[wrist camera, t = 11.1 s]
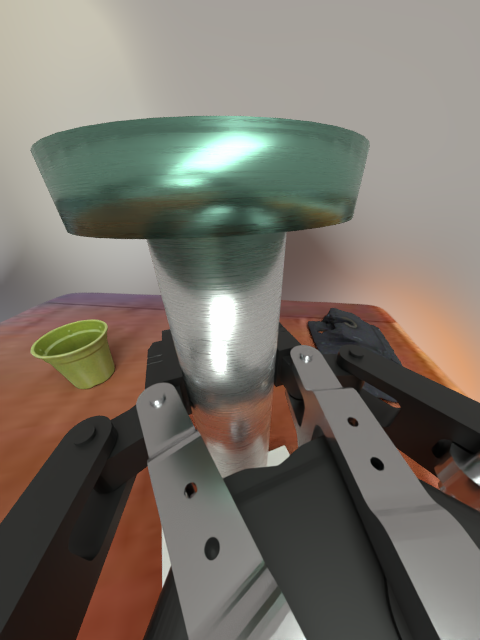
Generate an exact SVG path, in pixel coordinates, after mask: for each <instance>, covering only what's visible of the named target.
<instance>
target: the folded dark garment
mask: <svg viewBox="0 0 480 640" xmlns="http://www.w3.org/2000/svg"><path fill="white" fill-rule="evenodd" d="M308 326H309V328H310V331H311V334H312V337H313V339H314V342H315V343H316V346H317V347H318V349H319V352H320V353H321V354H338V352H339V349H340V347H341V346H343V345H349V344H350V345H357V346H360V347H363V348H365V349H367V350H369V351H371V352H373V353H375V354H377V355H380V356H382V357H384V358H386V359H388V360H390V361H392V362H394V363H396V364H399V365H401V366H402V364H401V362H400V361H399V359H398V358H397V356H396V355H395V354H394V350H393V349H392V348H391V346H390V345H389V343H388V341H387V340H386V339H385V337H384V335H383V334H382V333H381V331H380V329H379V328H377V327H375V326H374V325H370V324H368V323H366V322H364V321H362V320H361V319H360V318H359V317H357V316H356V315H354V314H352V313H349V312H345V311H341V310H338V309H336V308H331V309H330V311H329V313H328V314H327V316H325V317H324V319H323V321H322V322H320V321H317V322H315V321H309V322H308ZM319 331H325V332H323V333H319ZM363 389H364V390H366V391H367V392H369V393H371V394H372V395H374V396H376V397H377V398H383V399H385V400H387V401H391V402H397V401H396V400H395V399H394V398H392V397H390V396H389V395H387V394H385V393H384V392H382V391H380V390H378V389H377V388H375V387H373V386H372V385H370V384H368V383H366V382H365V383H364V385H363Z"/></svg>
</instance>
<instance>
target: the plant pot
mask: <svg viewBox="0 0 480 640" xmlns="http://www.w3.org/2000/svg"><path fill="white" fill-rule="evenodd" d="M107 330H108V327H107V324H106V323H105V322H103V321H100V320H83V321H78V322H74V323H70V324H67V325H64V326H62V327H59V328H57V329H54V330H52V331H50V332H48V333H47V334H45V335H43V336H42V337H41V338H39V339H38V340H37V341H36V342H35V343H34V344H33V346H32V347H31V354H32V355H33V356H34V357H36V358H39V359H43V360H44V361H45V362H47V363H50V364H51V365H52V366H53V367H55V368H56V369H57V370H58V371H59V372H60V373H61V374H62V375H63V376H64V377H66V378H67V379H68V380H69V381H70V382H71V383H72V384H73V385H74V386H75V387H77V388H79V389H88V388H92V387H93V386H95V385H97V384H100V383H103V382H105V381H106V380H107V379H108V378H109V377H110V376H111V375H112V374H113V372H114V370H115V368H114V363H113V359H112V356H111V353H110V349H109V345H108V342H107V333H106V332H107Z"/></svg>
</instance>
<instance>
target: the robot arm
mask: <svg viewBox="0 0 480 640" xmlns="http://www.w3.org/2000/svg"><path fill="white" fill-rule="evenodd" d="M365 382H366V383H368V384H370V385H372V386H373V387H375V388H377V389H378V390H380V391H382V392H384V393H385V394H387V395H389V396H390V397H392V398H394V399H395V400H396V401H397V402H398V403H399V404H400V407H401V408H395V407H392V406H390V405H389V404H387V403H385V402H384V401H382V400H381V399H379V398H377V397H376V396H374V395H372V394H371V393H369V392H367V391H366V390H364V389H363V385H364V383H365ZM274 385H275V386H276V387H277V386H280V385H284V387H285V388H286V390H285V396H286V399H287V403H288V406H289V409H290V412H291V415H292V418H293V422H294V425H295V428H296V431H297V437H298V449H297V450H295V451H294V452H293V453H292V454H291V455H290V456H289V457H288V458H287V459H285V460H284V461H283V462H282V463H281V464H279V465H277V466H269V467H259V468H249V469H243V470H241V471H239V472H236V473H234V474H231V475H229V476H227V477H224V478H222V476H221V474H220V472H219V470H218V468H217V466H216V464H215V462H214V460H213V458H212V456H211V454H210V452H209V450H208V448H207V446H206V444H205V442H204V440H203V438H202V437H201V435H200V433H199V431H198V430H197V429H195V427H194V425H193V423H192V421H191V419H190V417H189V414H192V408H191V403H190V399H189V396H188V392H187V388H186V384H185V380H184V376H183V373H182V369H181V367H180V364H179V360H178V356H177V352H176V349H175V345H174V341H173V337H172V334H171V330H170V329H169V330H164V331H162V341H158V342H154V343H152V345H151V346H150V348H149V349H148V359H147V370H146V382H145V390H144V391H143V392H142V393H141V394H140V396H139V397H138V399H137V402H136V405H135V406H134V407H132V408H131V409H130V410H128V411H126V412H125V413H123V414H121V415H119V416H117V417H116V418H114V419H112V420H110V419H109V418H107V417H105V416H94V417H90V418H88V419H86V420H83V421H82V422H80V423H78V424H77V425H76V426H74V427H73V428H72V429H71V430H70V431H69V432H68V433H67V434H66V435H65V436H64V438H63V439H62V440H61V442H60V443H59V445H58V446H57V447H56V449H55V450H54V451H53V453H52V454H51V455H50V457H49V458H48V460H47V461H46V462H45V464H44V465H43V466H42V468H41V469H40V471H39V472H38V473H37V475H36V476H35V477H34V479H33V480H32V481H31V483H30V484H29V486H28V487H27V488H26V490H25V491H24V492H23V494H22V495H21V496H20V498H19V499H18V501H17V502H16V503H15V505H14V506H13V507H12V509H11V510H10V512H9V513H8V514H7V516H6V517H5V518H4V520H3V521H2V522H1V524H0V640H76V638H77V635H78V633H79V630H80V627H81V624H82V622H83V619H84V616H85V614H86V611H87V608H88V605H89V603H90V600H91V597H92V595H93V592H94V589H95V586H96V584H97V581H98V578H99V576H100V573H101V570H102V567H103V565H104V562H105V559H106V557H107V554H108V551H109V549H110V546H111V543H112V540H113V538H114V535H115V532H116V530H117V527H118V524H119V521H120V519H121V516H122V513H123V511H124V508H125V505H126V502H127V500H128V497H129V494H130V492H131V489H132V486H133V483H134V481H135V478H136V475H137V473H139V472H140V471H142V470H143V469H144V468H146V467H147V466H148V470H149V474H150V478H151V483H152V487H153V491H154V495H155V499H156V504H157V508H158V512H159V516H160V520H161V525H162V529H163V533H164V537H165V541H166V546H167V550H168V554H169V558H170V562H171V567H170V569H169V572H168V575H167V577H166V580H165V583H164V585H163V588H162V591H161V593H160V596H159V599H158V601H157V604H156V607H155V609H154V612H153V615H152V617H151V620H150V623H149V625H148V628H147V631H146V633H145V636H144V639H143V640H480V403H479V402H477V401H474V400H472V399H470V398H468V397H466V396H464V395H462V394H460V393H458V392H456V391H453V390H451V389H449V388H447V387H445V386H443V385H441V384H439V383H437V382H434V381H432V380H430V379H428V378H426V377H424V376H422V375H420V374H418V373H415V372H413V371H411V370H409V369H407V368H405V367H403V366H401V365H399V364H396V363H394V362H392V361H390V360H388V359H386V358H384V357H382V356H380V355H377V354H375V353H373V352H371V351H369V350H367V349H365V348H363V347H360V346H357V345H350V344H349V345H343V346H341V347H340V349H339V352H338V354H321V353H320V352H319V351H318V350H317V349H315V348H313V347H311V346H306V345H301V344H300V343H299V342H298V341H297V340H296V339H295V338H294V337H293V336H292V335H291V334H290V333H289V332H288V331H287V330H286V329H285V328H284V327H283V326H282V325H281V324H280V322H279V327H278V339H277V351H276V363H275V375H274ZM397 448H398V449H399V450H400V451H402V452H403V453H405V454H406V455H407V456H409V457H410V458H411V459H413V460H414V461H416V462H417V463H418V464H420V465H421V466H422V467H424V468H425V469H427V470H428V471H429V472H431V473H432V474H433V475H435V476H436V477H438V478H439V480H440V481H439V483H438V487H439V489H440V490H438V489H437V488H435V487H433V486H431V485H429V484H427V483H425V482H424V481H422V480H420V479H418V478H417V477H416V476H415V474H414V473H413V472H412V470H411V469H410V467H409V466H408V464H407V463H406V461H405V460H404V459H403V457H402V456H401V454H400V453H399V451H398V450H397Z"/></svg>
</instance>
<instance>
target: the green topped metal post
mask: <svg viewBox="0 0 480 640" xmlns="http://www.w3.org/2000/svg"><path fill="white" fill-rule="evenodd" d="M369 147H370V145H369V141H368V140H367V139H366V138H365V137H364V136H362V135H360V134H358V133H356V132H354V131H351V130H348V129H344V128H341V127H337V126H333V125H327V124H321V123H316V122H309V121H300V120H291V119H281V118H266V117H246V116H186V117H163V118H147V119H137V120H127V121H116V122H109V123H102V124H97V125H89V126H83V127H79V128H74V129H70V130H66V131H62V132H58V133H55V134H52V135H50V136H47V137H44V138H42V139H40V140H39V141H37V142H36V143H34V144H33V145H32V148H31V153H32V155H33V157H34V159H35V162H36V164H37V166H38V168H39V171H40V173H41V175H42V177H43V179H44V182H45V183H46V186H47V188H48V190H49V193H50V195H51V197H52V199H53V201H54V204H55V206H56V208H57V210H58V212H59V215H60V217H61V219H62V221H63V223H64V225H65V228H66V230H67V232H68V233H70V234H73V235H78V236H84V237H95V238H114V239H147V243H148V246H149V250H150V254H151V258H152V262H153V265H154V269H155V273H156V277H157V281H158V284H159V288H160V292H161V296H162V299H163V303H164V307H165V311H166V315H167V318H168V322H169V326H170V330H171V334H172V337H173V341H174V345H175V349H176V352H177V356H178V360H179V364H180V367H181V369H182V373H183V376H184V380H185V384H186V388H187V392H188V396H189V399H190V403H191V408H192V413H193V417H194V421H195V424H196V428H197V430H198V431H199V433H200V435H201V437H202V438H203V440H204V442H205V444H206V446H207V448H208V450H209V452H210V454H211V456H212V458H213V460H214V462H215V464H216V466H217V468H218V470H219V472H220V474H221V476H222V478H224V477H227V476H229V475H231V474H234V473H236V472H239V471H241V470H243V469H249V468H259V467H267V460H268V448H269V435H270V423H271V411H272V399H273V387H274V375H275V363H276V351H277V339H278V327H279V315H280V303H281V290H282V279H283V267H284V254H285V243H286V232H287V231H297V230H304V229H312V228H320V227H325V226H330V225H336V224H340V223H344V222H347V221H349V220H351V219H352V218H353V214H354V209H355V205H356V201H357V197H358V193H359V189H360V184H361V180H362V176H363V172H364V168H365V163H366V159H367V154H368V150H369Z"/></svg>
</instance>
